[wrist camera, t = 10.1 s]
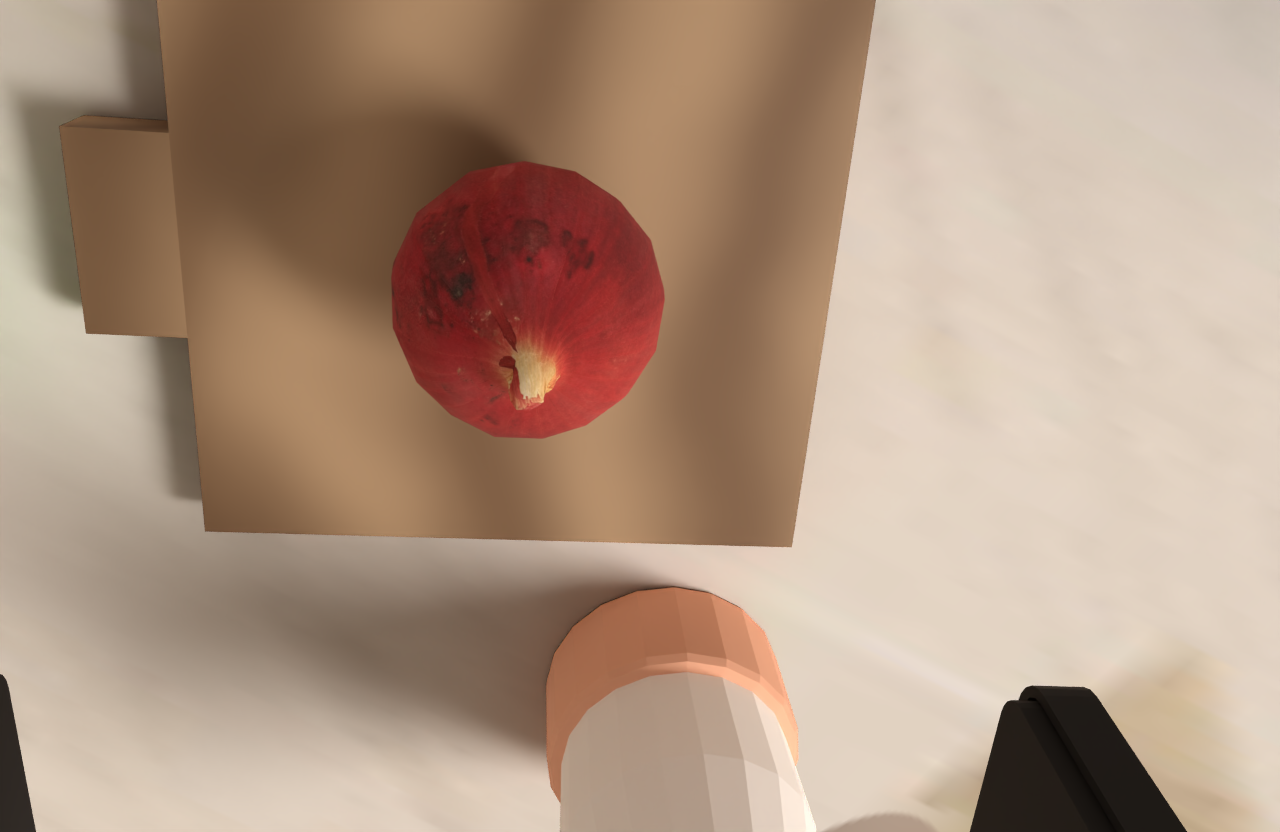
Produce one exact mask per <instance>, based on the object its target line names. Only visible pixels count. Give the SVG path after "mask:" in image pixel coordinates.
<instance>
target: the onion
mask: <svg viewBox="0 0 1280 832" xmlns="http://www.w3.org/2000/svg"><path fill="white" fill-rule="evenodd" d="M391 286H392V321H393V330H394V332H395V334H396V337H397V339H398V341H399V344H400V346H401V348H402V350H403V353H404V355H405V357H406V360H407V362H408V364H409V366H410V369H411V371H412V373H413V376H414V378H415V380H416V382H417V383H418V384H419V385H420V386H421V387H422V388H423V389H424V390H425V391H426V392H427V393H428V394H429V395H430V396H432V397H433V398H434V399H435V400H436V401H437V402H438V403H439V404H440V405H441V406H442V407H443V408H444V409H445V410H446V411H447V412H448V413H449V414H450V415H452V416H454V417H456V418H458V419H460V420H462V421H464V422H466V423H468V424H470V425H472V426H474V427H476V428H478V429H480V430H482V431H484V432H486V433H488V434H490V435H492V436H494V437H507V438H535V439H543V438H547V437H550V436H553V435H556V434H560V433H563V432H566V431H570V430H573V429H576V428H580V427H583V426H586V425H587V424H589V423H590V422H592V421H593V420H594V419H596V418H597V417H598V416H600V415H601V414H603V413H604V412H605V411H607V410H608V409H609V408H611V407H612V406H614V405H615V404H616V403H618V402H619V401H621V400H622V399H623V398H624V397H625V396H626V395H627V394H628V393H629V391H630V390H631V388H632V387H633V385H634V384H635V382H636V381H637V379H638V378H639V376H640V375H641V373H642V371H643V370H644V368H645V367H646V365H647V364H648V362H649V361H650V359H651V358H652V356H653V355H654V353H655V351H656V347H657V342H658V336H659V330H660V324H661V319H662V313H663V307H664V302H665V295H664V287H663V283H662V279H661V276H660V272H659V268H658V264H657V261H656V257H655V253H654V250H653V246H652V242H651V240H650V238H649V237H648V236H647V235H646V233H645V232H644V231H643V229H642V228H641V227H640V226H639V224H638V223H637V222H636V221H635V219H634V218H633V217H632V215H631V214H630V213H629V212H628V210H627V209H626V208H625V207H624V205H623V204H622V203H621V202H620V201H619V200H618V199H617V198H616V197H614V196H613V195H611V194H610V193H608V192H607V191H605V190H603V189H602V188H600V187H599V186H597V185H596V184H594V183H593V182H591V181H590V180H588V179H587V178H585V177H584V176H582V175H580V174H579V173H577V172H576V171H571V170H567V169H562V168H557V167H552V166H547V165H542V164H537V163H532V162H527V161H521V162H516V163H511V164H505V165H500V166H495V167H490V168H485V169H479V170H474V171H470V172H468V173H467V174H466V175H464V176H463V177H462V178H461V179H459V180H458V181H457V182H455V183H454V184H453V185H452V186H450V187H449V188H448V189H446V190H445V191H444V192H442V193H441V194H440V195H439V196H437V197H436V198H435V199H433V200H432V201H431V202H430V203H428V204H427V205H426V206H424V207H423V208H422V209H421V210H419V211H418V212H417V213H416V215H415V217H414V219H413V222H412V224H411V226H410V228H409V230H408V232H407V234H406V237H405V239H404V241H403V243H402V245H401V247H400V249H399V251H398V254H397V256H396V258H395V260H394V262H393V268H392V275H391Z"/></svg>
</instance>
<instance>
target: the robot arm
mask: <svg viewBox="0 0 1280 832" xmlns="http://www.w3.org/2000/svg"><path fill="white" fill-rule="evenodd" d="M0 832H36V830H35V824H34V819H33V814H32V809H31V803H30V798H29V793H28V787H27V782H26V777H25V772H24V766H23V761H22V756H21V750H20V745H19V740H18V735H17V729H16V724H15V719H14V713H13V708H12V703H11V698H10V692H9V687H8V684H7V681H6V679H5V678H4V676H3V675H1V674H0ZM970 832H1187V831H1186V830H1185V828H1184V827H1183V825H1182V824H1181V822H1180V821H1179V819H1178V818H1177V816H1176V815H1175V813H1174V812H1173V810H1172V809H1171V807H1170V806H1169V804H1168V803H1167V801H1166V800H1165V798H1164V797H1163V795H1162V794H1161V792H1160V791H1159V789H1158V788H1157V786H1156V785H1155V783H1154V782H1153V780H1152V779H1151V777H1150V776H1149V774H1148V773H1147V771H1146V770H1145V768H1144V767H1143V765H1142V764H1141V762H1140V761H1139V759H1138V758H1137V756H1136V755H1135V753H1134V752H1133V750H1132V749H1131V747H1130V746H1129V744H1128V743H1127V741H1126V740H1125V738H1124V737H1123V735H1122V734H1121V732H1120V731H1119V729H1118V728H1117V726H1116V725H1115V723H1114V722H1113V720H1112V719H1111V717H1110V716H1109V714H1108V713H1107V711H1106V710H1105V708H1104V707H1103V705H1102V704H1101V702H1100V701H1099V699H1098V698H1097V696H1096V695H1095V694H1094V693H1093V692H1092V691H1091V690H1090V689H1087V688H1085V687H1059V686H1029V687H1026V688H1025V689H1024V690H1023V692H1022V693H1021V695H1020V698H1019V700H1011V701H1007V703H1006V704H1005V705H1004V707H1003V709H1002V712H1001V715H1000V719H999V723H998V727H997V731H996V734H995V738H994V742H993V746H992V750H991V753H990V757H989V761H988V765H987V769H986V772H985V776H984V780H983V784H982V788H981V791H980V795H979V799H978V803H977V806H976V810H975V814H974V818H973V822H972V825H971V829H970Z"/></svg>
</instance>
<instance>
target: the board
mask: <svg viewBox="0 0 1280 832" xmlns="http://www.w3.org/2000/svg"><path fill="white" fill-rule="evenodd" d="M875 2H876V0H157V9H158V20H159V31H160V41H161V52H162V63H163V74H164V85H165V96H166V107H167V118H168V121H166V120H150V119H135V118H119V117H103V116H88V115H83V116H81V117H79V118H76V119H74V120H72V121H70V122H67V123H65V124H63V125H61V126H59V129H60V137H61V144H62V152H63V160H64V168H65V175H66V183H67V191H68V198H69V206H70V214H71V221H72V229H73V237H74V245H75V252H76V260H77V268H78V275H79V283H80V291H81V299H82V306H83V314H84V322H85V329H86V333H87V334H110V335H132V336H155V337H177V338H188V349H189V360H190V371H191V382H192V393H193V404H194V415H195V426H196V437H197V448H198V459H199V470H200V481H201V492H202V503H203V514H204V525H205V531H210V532H247V533H285V534H322V535H359V536H396V537H433V538H470V539H507V540H544V541H581V542H618V543H655V544H692V545H730V546H767V547H792V542H793V535H794V529H795V522H796V516H797V509H798V503H799V496H800V490H801V483H802V477H803V470H804V464H805V457H806V451H807V444H808V438H809V431H810V425H811V418H812V412H813V405H814V399H815V392H816V386H817V379H818V373H819V366H820V360H821V353H822V347H823V340H824V334H825V327H826V321H827V314H828V308H829V301H830V295H831V288H832V282H833V275H834V269H835V262H836V256H837V249H838V242H839V236H840V229H841V223H842V216H843V210H844V203H845V197H846V190H847V184H848V177H849V171H850V164H851V158H852V151H853V145H854V138H855V132H856V125H857V119H858V112H859V106H860V99H861V93H862V86H863V80H864V73H865V67H866V60H867V54H868V47H869V41H870V34H871V28H872V21H873V15H874V8H875ZM521 161H527V162H532V163H537V164H542V165H547V166H552V167H557V168H562V169H567V170H571V171H576V172H577V173H579V174H580V175H582V176H584V177H585V178H587V179H588V180H590V181H591V182H593V183H594V184H596V185H597V186H599V187H600V188H602V189H603V190H605V191H607V192H608V193H610V194H611V195H613V196H614V197H616V198H617V199H618V200H619V201H620V202H621V203H622V204H623V205H624V207H625V208H626V209H627V210H628V212H629V213H630V214H631V215H632V217H633V218H634V219H635V221H636V222H637V223H638V224H639V226H640V227H641V228H642V229H643V231H644V232H645V233H646V235H647V236H648V237H649V238H650V240H651V242H652V246H653V250H654V253H655V257H656V261H657V264H658V268H659V272H660V276H661V279H662V283H663V287H664V295H665V302H664V307H663V313H662V319H661V324H660V330H659V336H658V342H657V347H656V351H655V353H654V355H653V356H652V358H651V359H650V361H649V362H648V364H647V365H646V367H645V368H644V370H643V371H642V373H641V375H640V376H639V378H638V379H637V381H636V382H635V384H634V385H633V387H632V388H631V390H630V391H629V393H628V394H627V395H626V396H625V397H624V398H623V399H622V400H621V401H619V402H618V403H616V404H615V405H614V406H612V407H611V408H609V409H608V410H607V411H605V412H604V413H603V414H601V415H600V416H598V417H597V418H596V419H594V420H593V421H592V422H590V423H589V424H587V425H586V426H583V427H580V428H576V429H573V430H570V431H566V432H563V433H560V434H556V435H553V436H550V437H547V438H543V439H535V438H507V437H494V436H492V435H490V434H488V433H486V432H484V431H482V430H480V429H478V428H476V427H474V426H472V425H470V424H468V423H466V422H464V421H462V420H460V419H458V418H456V417H454V416H452V415H450V414H449V413H448V412H447V411H446V410H445V409H444V408H443V407H442V406H441V405H440V404H439V403H438V402H437V401H436V400H435V399H434V398H433V397H432V396H430V395H429V394H428V393H427V392H426V391H425V390H424V389H423V388H422V387H421V386H420V385H419V384H418V383H417V382H416V380H415V378H414V376H413V373H412V371H411V369H410V366H409V364H408V362H407V360H406V357H405V355H404V353H403V350H402V348H401V346H400V344H399V341H398V339H397V337H396V334H395V332H394V330H393V321H392V286H391V275H392V268H393V262H394V260H395V258H396V256H397V254H398V251H399V249H400V247H401V245H402V243H403V241H404V239H405V237H406V234H407V232H408V230H409V228H410V226H411V224H412V222H413V219H414V217H415V215H416V213H417V212H418V211H419V210H421V209H422V208H423V207H424V206H426V205H427V204H428V203H430V202H431V201H432V200H433V199H435V198H436V197H437V196H439V195H440V194H441V193H442V192H444V191H445V190H446V189H448V188H449V187H450V186H452V185H453V184H454V183H455V182H457V181H458V180H459V179H461V178H462V177H463V176H464V175H466V174H467V173H468V172H470V171H474V170H479V169H485V168H490V167H495V166H500V165H505V164H511V163H516V162H521Z"/></svg>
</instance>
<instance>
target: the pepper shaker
mask: <svg viewBox="0 0 1280 832" xmlns="http://www.w3.org/2000/svg"><path fill="white" fill-rule="evenodd" d="M546 728H547V762H548V770H549V777H550V784H551V788H552V790H553V791H554V793H555V795H556V797H557V798H558V800H559V802H560V803H561V806H560V832H816V825H815V822H814V819H813V816H812V814H811V811H810V808H809V805H808V802H807V799H806V796H805V793H804V790H803V787H802V784H801V781H800V778H799V775H798V772H797V770H796V764H797V761H798V727H797V724H796V721H795V718H794V714H793V711H792V708H791V705H790V702H789V699H788V695H787V692H786V689H785V686H784V683H783V679H782V676H781V673H780V670H779V667H778V663H777V660H776V658H775V655H774V653H773V651H772V648H771V646H770V644H769V642H768V639H767V637H766V635H765V632H764V631H763V630H762V629H761V628H760V627H759V626H758V625H757V624H756V623H755V622H754V621H753V620H752V619H751V618H750V617H749V616H748V615H747V614H746V613H745V612H744V611H743V610H742V609H741V608H739V607H737V606H735V605H733V604H731V603H729V602H727V601H725V600H723V599H721V598H719V597H717V596H715V595H713V594H711V593H705V592H699V591H693V590H687V589H681V588H675V587H672V588H663V589H653V590H644V591H636V592H633V593H631V594H628V595H626V596H623V597H620V598H618V599H615V600H613V601H610V602H608V603H605V604H602V605H601V606H599V607H598V608H597V609H595V610H594V611H593V612H591V613H590V614H589V615H588V616H586V617H585V618H584V619H582V620H581V621H580V622H578V623H577V624H576V625H574V626H573V627H572V629H571V630H570V632H569V633H568V634H567V636H566V637H565V639H564V640H563V642H562V643H561V645H560V646H559V647H558V649H557V650H556V652H555V653H554V656H553V660H552V664H551V667H550V671H549V675H548V679H547V683H546Z"/></svg>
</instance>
